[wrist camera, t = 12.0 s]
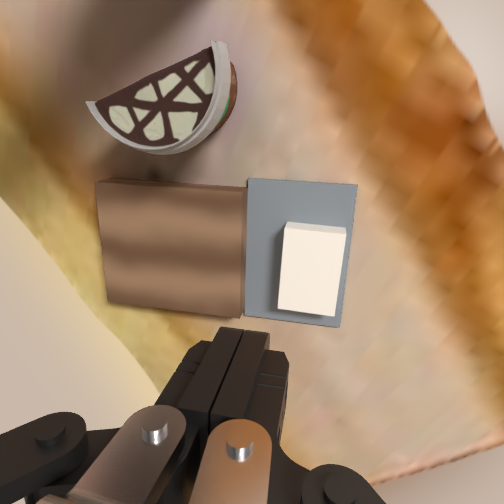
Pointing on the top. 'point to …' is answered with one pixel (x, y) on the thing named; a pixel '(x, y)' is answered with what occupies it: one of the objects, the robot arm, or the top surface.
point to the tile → (311, 268)
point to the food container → (172, 104)
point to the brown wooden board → (174, 245)
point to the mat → (272, 235)
